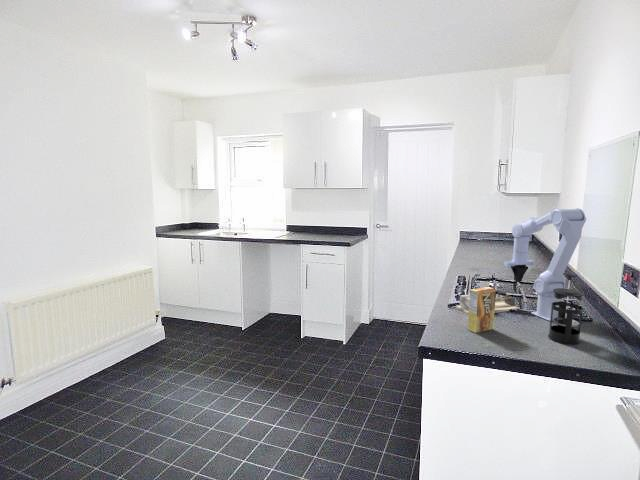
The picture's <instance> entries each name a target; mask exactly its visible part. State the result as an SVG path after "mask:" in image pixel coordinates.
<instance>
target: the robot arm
mask: <svg viewBox="0 0 640 480" xmlns="http://www.w3.org/2000/svg"><path fill="white" fill-rule="evenodd" d="M586 221H587V217H586V215H585V212H584V210H583V209H581V208H579V207H578V208H556V209H553V210H550V212H549V213H546V214H545V215H543V216H541V217H540V218H538V217H534V216H533V217H530V218H529V220H526V221H522V223H520V224H519V223H515V224H514V225H513V226H512V227H511V234H512V236H513V237H514V238H513V250H512V251H513V252H512V259H511V260H509V261H504V264H503V266H504V267H505V268H510V269H511V271H512V273H513V277H514V281H515V282H517V283H522V280H523V277H524V276H525V274H526V272H527V271H528V269H529V266H535V263H536V261H535V260H534V259H528V257H529V256H528V255H529V243H530V241H531V237H532V236H533V234H535V233H538V232H541V231H542V230H543V229H544V227H546V226H548V225H550V224H552V225H553V226H554V228H555V229H556V231H557V232H558V233H559V234H560V235H561V238H560V240H559V243H558V245H557V248H556V250H555V251H554V254H553V256H552V259H551V261H550V263H549V266H548V267H547V269H546V270H545V271H543V272H541V273H540V274H539V275H538V277H537V278H536V279H535V281H534V282H533V289H534V290H535V292H536V294H537V301H536V302H537V304H536V311H531V312H530V314H532V315H534V316H537V317H539V318H542V319H544V320H547V321H549V322H550V318H551V307H552V303H553V302H559V301H565V300H564V298H562V299H557V298H555V297H554V292H553V289H557V288H565V289H566V282H567V278H566V276H564V275H563V274H565V271H566V269H567V267H568V264H569V262H570V261H571V259H572V257H573V254H574V253H575V250H576V248H577V246H578V244H579V242H580V240H581V237H582V234H583V233H582V231H583V227H584V225H585V223H586ZM556 307H559V305H557V306H556ZM558 312H559V311H556V310H554V309H553V316H552V318H554V317H558Z"/></svg>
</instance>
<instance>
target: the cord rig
mask: <svg viewBox="0 0 640 480" xmlns="http://www.w3.org/2000/svg"><path fill="white" fill-rule="evenodd" d="M469 303H470V294H461V295H459V305H458V304H457V305H455V309H457V310H459V311H461V312H463V313H465V314H467V315H469ZM515 304H516V297H514V296H513V297H511V296H510V295H509V294H507V295H506V294H505V295H504V297H500V298H497V297H496V298H495V310H494V314H495V313H506V312H510V311H509V310H510V309H520V307H519V306H517V305H515ZM520 310H521V309H520Z"/></svg>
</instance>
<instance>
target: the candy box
mask: <svg viewBox="0 0 640 480" xmlns="http://www.w3.org/2000/svg"><path fill="white" fill-rule="evenodd" d="M469 291H470V293H469V295H470V303H469V314H468V319H467V320H468V321H467V330H468V331H471V332H473V333H475V334H476V333H482V332H485V331H491V330H493V329H494V322H495V321H494V320H495V313H494V310H495V299H497V297H496V296H497V289H496V288H493V287H490V286H485V287H483V286H482V287H478V288H477V287H476V288H471V289H470V290H469Z"/></svg>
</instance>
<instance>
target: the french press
mask: <svg viewBox="0 0 640 480" xmlns="http://www.w3.org/2000/svg"><path fill="white" fill-rule="evenodd" d="M563 276H564V277H567V281H568V285H567V286H568V287H567V288H566V287H565V288H557V289H553V292H554V297H555V298H557V299H564V298H566V301H565V300H564V301H559V302H553V303H552V307H551V318H550V321H549V329H548V330H549V331H548V334H547V338H548V339H549V340H551V341H553V342H555V343H559V344H562V345H569V346H570V345H571V346H574V345H575V346H576V345H579V344H580V343H581V340H580V337H581V325H582V318H583V306H581V305H580V304H578V303H577V304H576V303H574V302H573V303H572V302H569V297H573V298H575V299H577V300H578V301H579V302H581V301H583V297H584V296H585V293H584V292H582V291H580V290H577V289H571V288H570V284H571V281H572V278H577V277H578V275H577V274H575V273H566V272H565V273H563ZM557 305H559V307H556V306H557ZM568 307H569V308H570V307H571V308H574V309H568ZM553 309H554V310H556V311H559V312H558V317H554V318H552V316H553ZM574 315H579V317H578V321H577V320H575V319H573V317H574ZM552 324H554V325H552ZM576 328H578V329H576Z"/></svg>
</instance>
